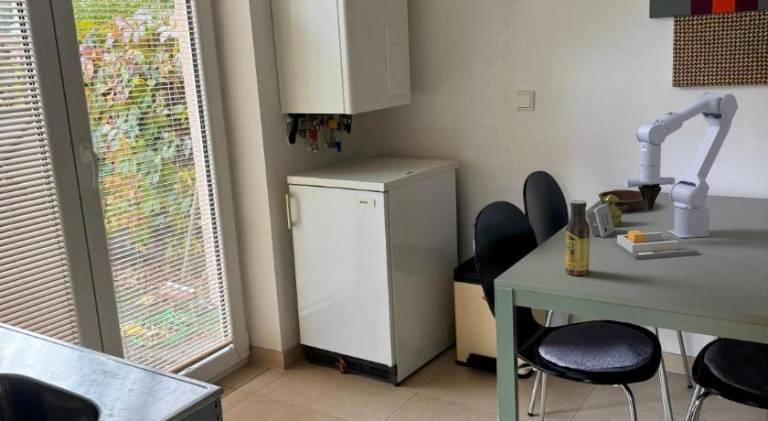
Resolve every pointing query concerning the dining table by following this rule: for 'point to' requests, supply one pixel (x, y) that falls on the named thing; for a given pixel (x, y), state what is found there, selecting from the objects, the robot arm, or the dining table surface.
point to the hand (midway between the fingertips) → (649, 209)
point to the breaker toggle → (636, 236)
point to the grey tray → (654, 246)
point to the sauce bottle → (577, 240)
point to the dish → (625, 199)
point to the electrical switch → (601, 221)
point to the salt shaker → (613, 210)
